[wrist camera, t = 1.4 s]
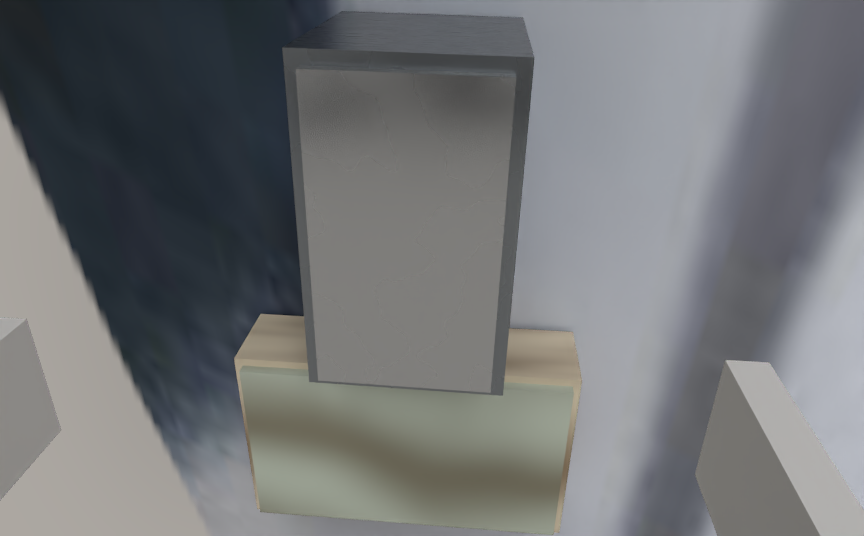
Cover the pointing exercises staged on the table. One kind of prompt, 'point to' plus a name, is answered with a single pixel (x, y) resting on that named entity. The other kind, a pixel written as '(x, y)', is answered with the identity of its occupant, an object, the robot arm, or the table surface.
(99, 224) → the table surface
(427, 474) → the stand
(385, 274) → the housing
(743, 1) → the table surface
